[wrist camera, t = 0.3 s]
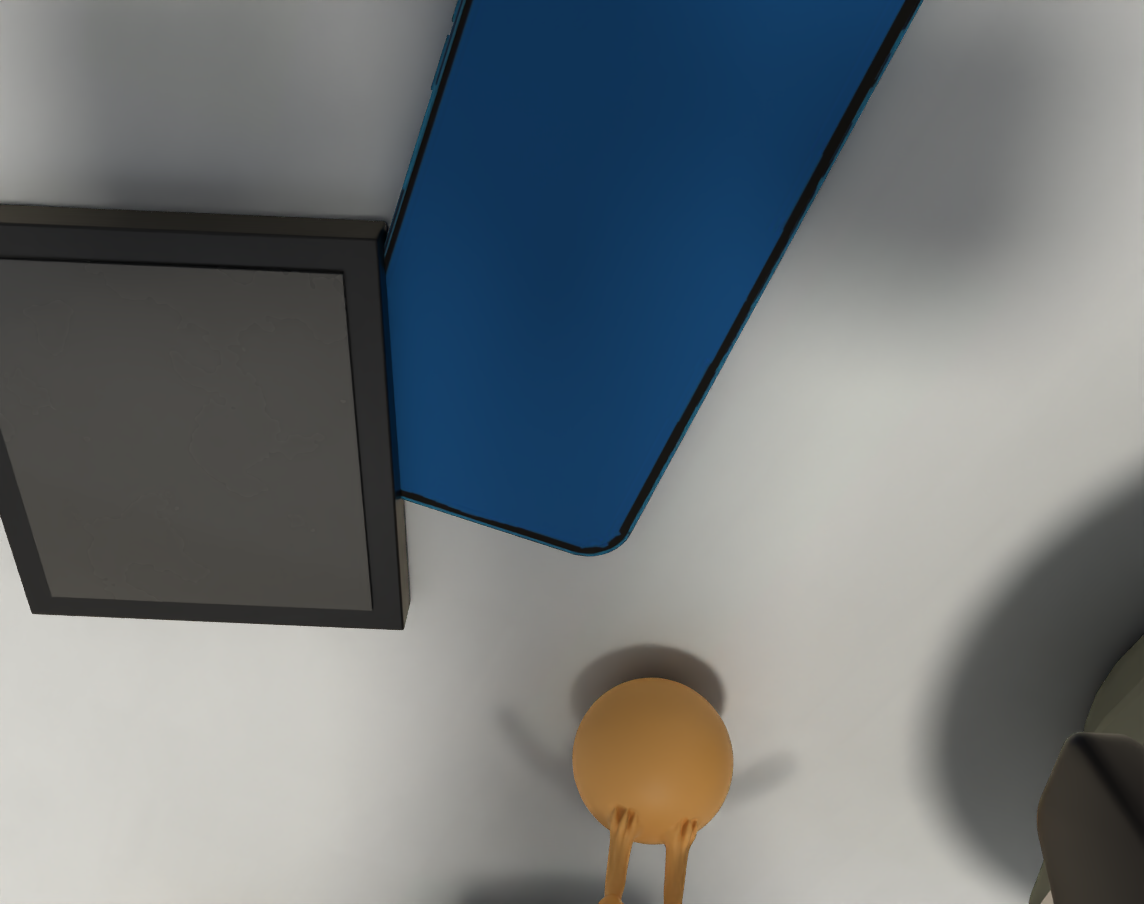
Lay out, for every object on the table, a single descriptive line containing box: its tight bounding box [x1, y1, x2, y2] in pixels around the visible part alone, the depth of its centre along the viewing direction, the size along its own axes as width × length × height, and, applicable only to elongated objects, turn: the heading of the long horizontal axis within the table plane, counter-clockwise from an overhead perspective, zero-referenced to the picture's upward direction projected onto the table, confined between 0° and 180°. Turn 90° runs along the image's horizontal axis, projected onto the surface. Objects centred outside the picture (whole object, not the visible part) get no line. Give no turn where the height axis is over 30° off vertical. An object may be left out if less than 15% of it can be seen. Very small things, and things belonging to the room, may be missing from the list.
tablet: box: [0, 204, 410, 630], centre depth 23 cm, size 10×9×1 cm
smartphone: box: [384, 0, 923, 556], centre depth 21 cm, size 7×1×15 cm
